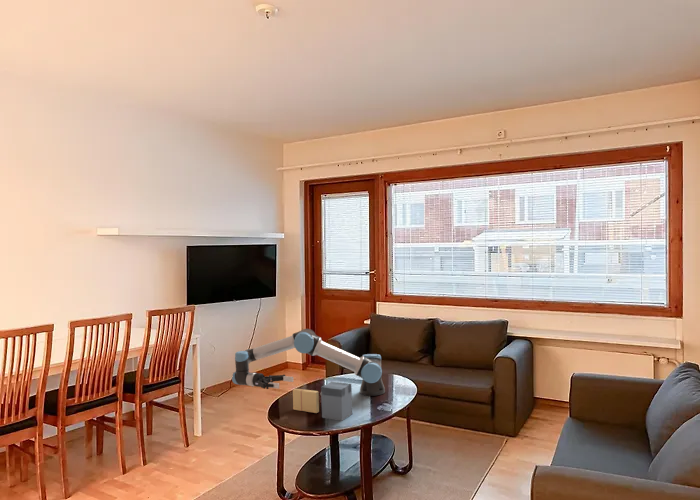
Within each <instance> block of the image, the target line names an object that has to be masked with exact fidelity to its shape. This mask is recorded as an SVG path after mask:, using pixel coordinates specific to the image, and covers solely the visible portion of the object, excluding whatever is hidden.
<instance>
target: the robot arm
mask: <svg viewBox="0 0 700 500" xmlns="http://www.w3.org/2000/svg"><path fill="white" fill-rule="evenodd" d="M293 349H295V350H296V351H297V352H299V353H301V354H308V355H310V356H311V357H312V356H318V357H321V358H323V359H325V360H327V361H330V362H331V363H335V364H337V365H339V366H341V367H343V368H345V369H348V370H350V371H352V372H354V376H357V377H359V378H361V379H362V380H361V384H360V388H359V393H360V394H361V395H363V396H369V397H373V396H381V395H383V394H385V392H386V390H385V389H386V388H385V385H384V383H383V379H382V378H383V377H382V374H383V369H382V356H381V354H377V353H367V354H362V356H360V357H359V356H357V355H355V354H352V353H350V352H349V351H346V350H344V349H341V348H339V347H337V346H334V345H332V344H330V343H327V342H325V341H324V340H322V337H320V336H318V335H317V334H316V333H315V331H314V330H313V329H310V328H304V329H300V330H299V331H297V332H295V333H292V335H290V336H287V337H283V338H281V339H278V340H274V341H272V342H268V343H265V344H263V345H259V346H256V347H252V348H248V349H245V350H240V351H239V350H238V351H236V352H235V354H234V361H235V371H234V372H233V373H232V376H231V381H232V383H233V384H235V385H239V386H250V387H252V388H253V387H257V388H262V389H266V390H269V389H280V383H279V382H281V381H283V382H290V383H294V376H286V374H276V375H275V374H273V375H267V376H265V374H263V373H261V372H250V367H249V366H250V365H249V364H250V363H252V362H255V361H258V360H260V359H264V358H268V357H271V356H274V355H277V354H280V353H283V352H286V351H288V350H293Z"/></svg>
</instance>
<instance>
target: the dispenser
mask: <svg viewBox="0 0 700 500" xmlns="http://www.w3.org/2000/svg"><path fill="white" fill-rule="evenodd" d="M352 389H353V388H352V383H348V382H339V381H337V382H336V381H330V382H329V383H326V384H324V385H322V386H320V390H321V391H320V392H319V393H320V394H319V395H320V396H321V399H320V400H321V418H322V419H328V420H336V421H344V420H346V419H347V418H348V417H350V416H351V415H353V396H352V395H353V393H352V392H353V391H352Z"/></svg>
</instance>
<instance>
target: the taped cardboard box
mask: <svg viewBox="0 0 700 500" xmlns="http://www.w3.org/2000/svg"><path fill="white" fill-rule="evenodd" d="M319 395H320V394H319V391H318V390H313V389H311V390H310V389H305V388H296V387H295V388H293V389H292V408H293V410H295V411H300V412H308V413H314V414H317V413H319V412H320V402H319V401H320V400H319V399H320V398H319V397H320V396H319Z"/></svg>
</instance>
